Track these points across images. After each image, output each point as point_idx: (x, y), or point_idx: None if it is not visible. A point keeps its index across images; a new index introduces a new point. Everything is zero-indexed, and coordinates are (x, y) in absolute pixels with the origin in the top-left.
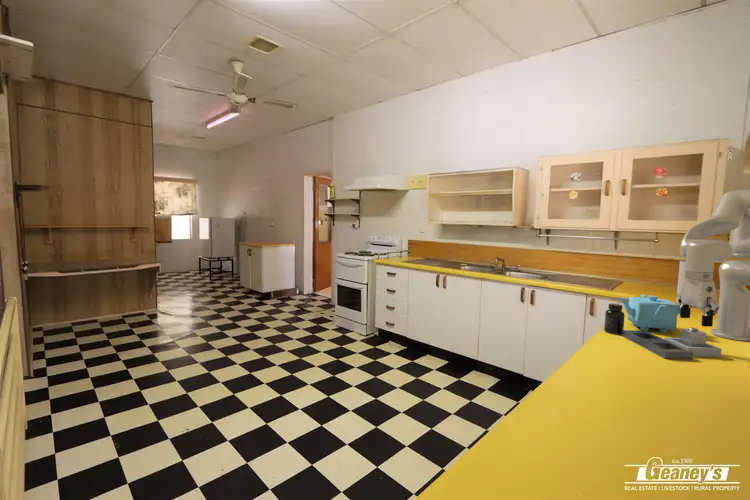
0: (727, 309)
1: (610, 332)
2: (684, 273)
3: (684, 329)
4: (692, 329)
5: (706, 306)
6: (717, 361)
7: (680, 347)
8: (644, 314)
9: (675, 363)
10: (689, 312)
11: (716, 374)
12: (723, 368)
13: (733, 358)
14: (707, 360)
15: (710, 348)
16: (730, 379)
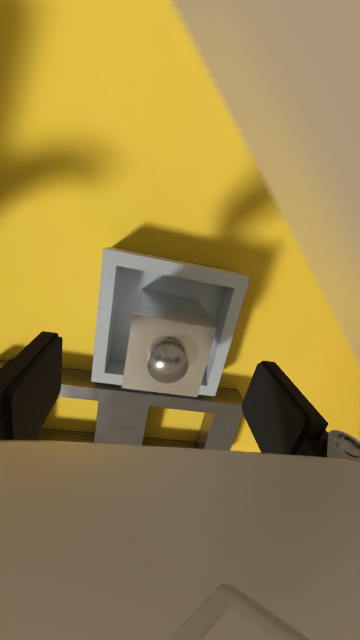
0: None
1: None
2: None
3: (143, 386)
4: (177, 380)
5: (250, 461)
6: (264, 325)
7: (195, 404)
8: None
9: (249, 451)
10: (40, 371)
11: (326, 415)
12: (307, 362)
13: (256, 230)
14: (250, 349)
15: (236, 320)
16: (356, 410)
